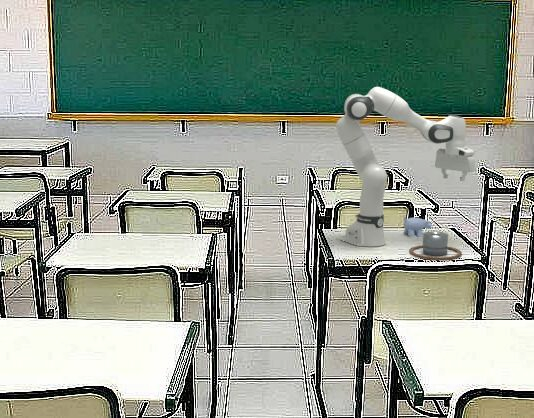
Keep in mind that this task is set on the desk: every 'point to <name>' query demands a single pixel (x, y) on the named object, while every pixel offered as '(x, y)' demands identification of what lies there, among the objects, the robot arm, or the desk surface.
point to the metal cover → (435, 243)
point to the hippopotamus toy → (415, 226)
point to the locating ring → (435, 257)
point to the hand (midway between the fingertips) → (453, 179)
